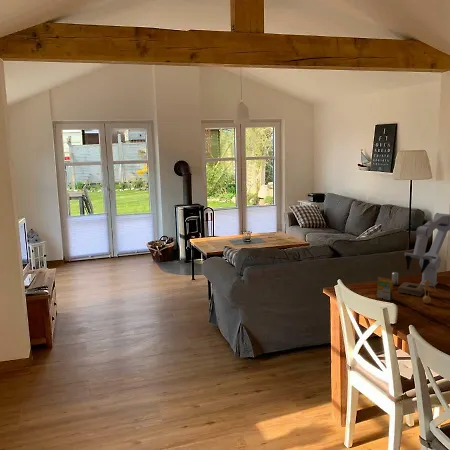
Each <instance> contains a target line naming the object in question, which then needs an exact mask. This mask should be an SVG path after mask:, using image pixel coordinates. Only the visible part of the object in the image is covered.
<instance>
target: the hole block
mask: <svg viewBox="0 0 450 450" xmlns="http://www.w3.org/2000/svg"><path fill="white" fill-rule="evenodd" d="M419 285H420V283H414V282H407V281H404V282H403V283H402V284H400V285H399V286H398V287H397V293H398V292H399V294H402V293H406V294H405V295H408V294H411V296H414V295H416V297H420V296H421V295H422V296H423V294H425V290H424V287H426V286H425V285H420V288H419ZM418 288H419V289H418Z"/></svg>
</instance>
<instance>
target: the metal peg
mask: <svg viewBox="0 0 450 450" xmlns="http://www.w3.org/2000/svg"><path fill="white" fill-rule="evenodd" d="M391 281H393V286H398V285H399V272H398V271H392V272H391Z"/></svg>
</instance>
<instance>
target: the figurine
mask: <svg viewBox="0 0 450 450" xmlns="http://www.w3.org/2000/svg"><path fill="white" fill-rule="evenodd" d="M421 282H422V281H421ZM421 282H420V283H419V284H420V285H421V284H423V283H425V286H426V287H424V290H425V292H424V296H422V302H423V303H424V304H431V302H432V297H430V291H431V289H430V288H431V286H429V283H430V284H433V283H431V282H429V281H428V280H426V281H424V282H422V283H421ZM420 285H419V288H420ZM433 286H434V284H433ZM433 286H432V287H433ZM419 288H418V289H419ZM433 288H434V290H436V289H437V288H436V285H435V286H434V287H433Z"/></svg>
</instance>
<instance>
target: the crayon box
mask: <svg viewBox="0 0 450 450" xmlns="http://www.w3.org/2000/svg"><path fill="white" fill-rule="evenodd" d="M376 284H377V287H376V288H377V289H376V298H378V299H382V298H383V300H388V301H391V300H393V286H394V285H393V281H392V278H391V279H390V278H385V277H381V276H380V277H379V276H377V283H376Z"/></svg>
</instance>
